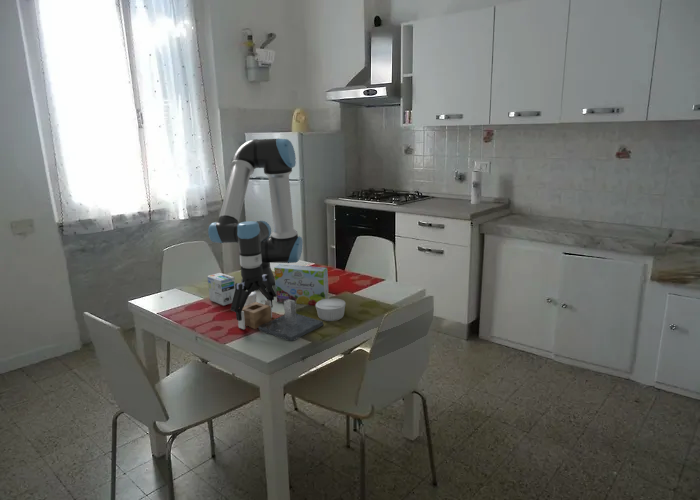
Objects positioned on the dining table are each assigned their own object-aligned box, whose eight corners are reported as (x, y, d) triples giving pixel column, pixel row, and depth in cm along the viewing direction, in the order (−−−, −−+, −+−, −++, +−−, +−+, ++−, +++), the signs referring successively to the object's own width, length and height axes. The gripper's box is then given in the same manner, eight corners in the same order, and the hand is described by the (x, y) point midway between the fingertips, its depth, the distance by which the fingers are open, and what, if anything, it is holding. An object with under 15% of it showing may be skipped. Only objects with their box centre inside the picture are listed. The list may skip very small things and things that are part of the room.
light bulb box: (237, 301, 196) (235, 276, 194) (223, 306, 192) (220, 280, 189) (223, 296, 204) (220, 271, 201) (209, 300, 199) (206, 275, 196)
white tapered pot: (242, 314, 182) (240, 297, 181) (237, 309, 188) (236, 292, 186) (259, 311, 185) (258, 294, 184) (254, 305, 191) (253, 289, 189)
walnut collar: (255, 328, 169) (253, 313, 167) (240, 323, 174) (238, 308, 172) (271, 321, 175) (270, 306, 173) (256, 316, 180) (255, 301, 178)
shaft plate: (258, 330, 168) (256, 303, 165) (290, 315, 180) (289, 290, 177) (291, 341, 158) (290, 313, 156) (323, 325, 170) (322, 298, 168)
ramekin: (322, 324, 171) (321, 310, 170) (311, 314, 181) (311, 301, 180) (350, 319, 175) (350, 305, 174) (339, 309, 185) (338, 296, 184)
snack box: (275, 302, 194) (273, 267, 190) (282, 298, 199) (279, 263, 195) (324, 307, 188) (323, 270, 184) (329, 302, 193) (328, 266, 189)
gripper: (230, 275, 157) (236, 336, 163) (283, 259, 176) (286, 313, 181) (216, 272, 162) (222, 331, 167) (269, 256, 180) (273, 309, 186)
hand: (255, 322), depth 174 cm, fingers open, 12 cm apart
